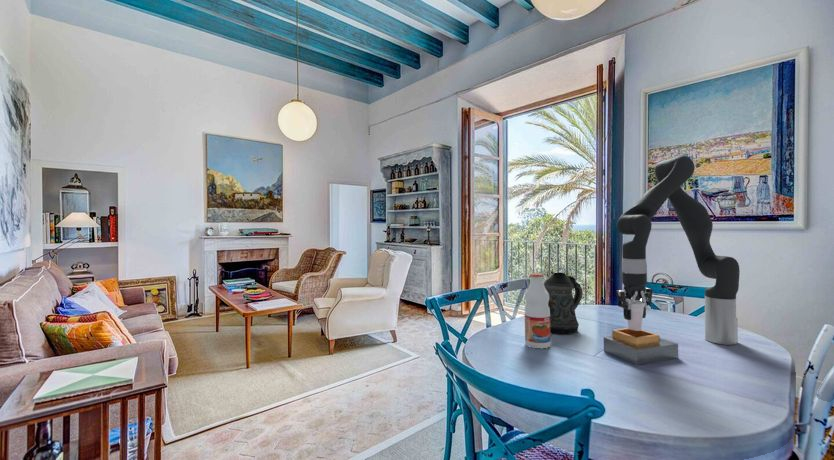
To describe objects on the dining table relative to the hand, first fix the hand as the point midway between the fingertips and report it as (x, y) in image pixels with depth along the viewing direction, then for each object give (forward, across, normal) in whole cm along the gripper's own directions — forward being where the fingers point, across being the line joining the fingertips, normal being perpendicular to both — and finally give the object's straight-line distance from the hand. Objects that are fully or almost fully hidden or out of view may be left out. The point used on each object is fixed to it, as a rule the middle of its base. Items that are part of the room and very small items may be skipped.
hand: (634, 318), depth 124 cm
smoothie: (+4, 0, 0) cm, 4 cm away
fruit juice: (+13, +26, -20) cm, 35 cm away
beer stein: (+13, +4, -35) cm, 38 cm away
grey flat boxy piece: (+13, -3, 0) cm, 13 cm away
